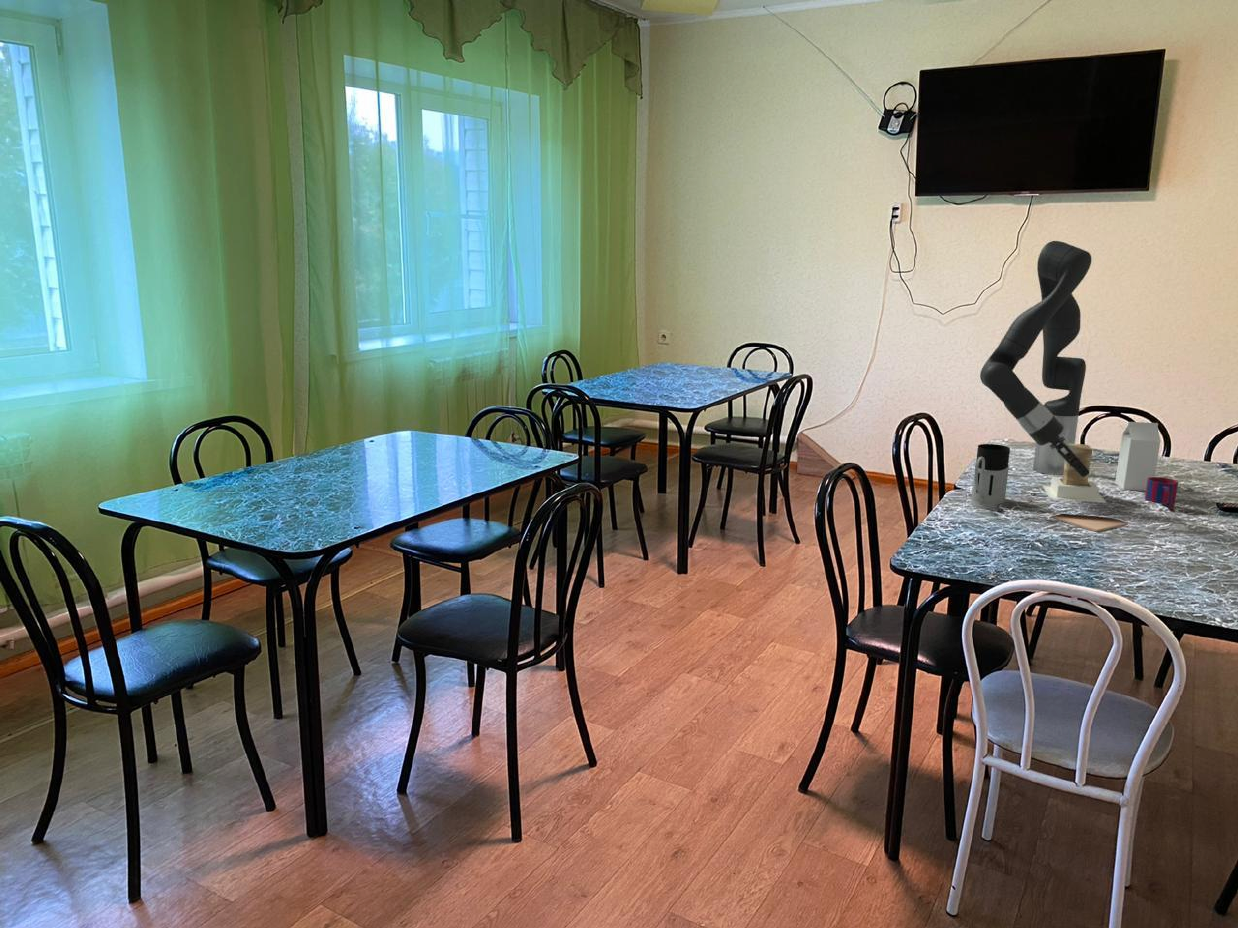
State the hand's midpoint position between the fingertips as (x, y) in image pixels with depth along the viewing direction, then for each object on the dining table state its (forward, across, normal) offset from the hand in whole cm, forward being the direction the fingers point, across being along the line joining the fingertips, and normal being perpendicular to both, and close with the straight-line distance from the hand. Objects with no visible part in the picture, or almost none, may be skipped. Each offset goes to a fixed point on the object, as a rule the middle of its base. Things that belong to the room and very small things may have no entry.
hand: (1084, 471), depth 238 cm
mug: (+18, -2, -7) cm, 20 cm away
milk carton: (+16, +13, -5) cm, 21 cm away
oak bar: (+2, 0, +5) cm, 6 cm away
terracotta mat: (+4, -20, +6) cm, 21 cm away
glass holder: (-12, -15, +23) cm, 30 cm away
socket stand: (+4, 0, +6) cm, 8 cm away
